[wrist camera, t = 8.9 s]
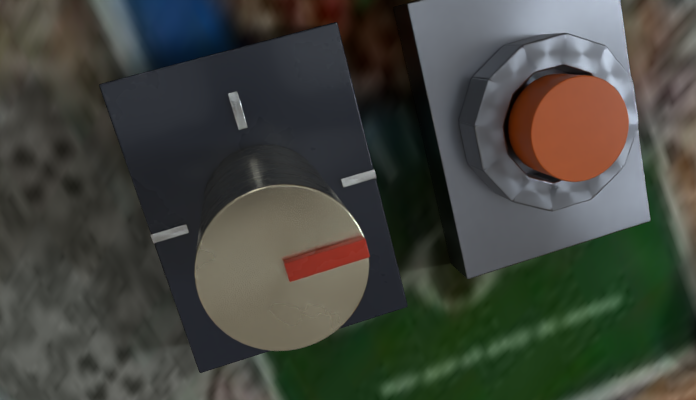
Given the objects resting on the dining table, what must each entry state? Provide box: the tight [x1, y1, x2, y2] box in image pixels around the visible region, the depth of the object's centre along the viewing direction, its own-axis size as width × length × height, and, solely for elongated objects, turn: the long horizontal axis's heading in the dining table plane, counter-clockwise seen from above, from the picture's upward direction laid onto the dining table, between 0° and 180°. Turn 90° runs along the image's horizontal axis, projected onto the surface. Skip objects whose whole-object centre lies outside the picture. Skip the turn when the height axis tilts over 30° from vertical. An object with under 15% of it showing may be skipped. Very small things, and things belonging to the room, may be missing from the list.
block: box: [394, 0, 650, 279], centre depth 28 cm, size 12×9×4 cm
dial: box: [194, 144, 370, 351], centre depth 22 cm, size 5×5×8 cm
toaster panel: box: [99, 22, 407, 373], centre depth 27 cm, size 12×9×3 cm
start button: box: [508, 74, 629, 182], centre depth 25 cm, size 4×4×2 cm
